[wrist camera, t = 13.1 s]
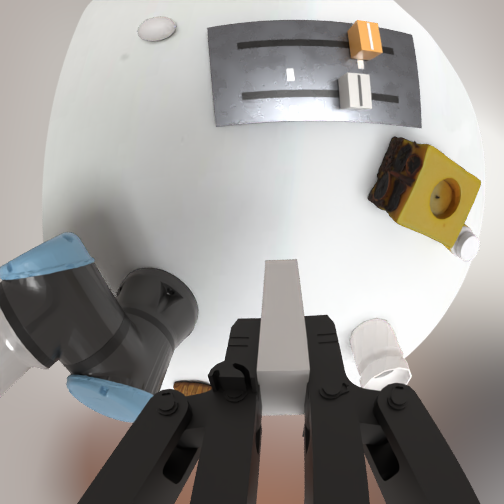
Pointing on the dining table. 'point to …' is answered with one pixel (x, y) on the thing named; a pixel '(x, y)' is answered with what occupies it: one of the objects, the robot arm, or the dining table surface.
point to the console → (307, 74)
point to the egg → (156, 28)
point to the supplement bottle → (465, 245)
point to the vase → (378, 355)
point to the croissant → (191, 388)
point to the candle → (424, 190)
